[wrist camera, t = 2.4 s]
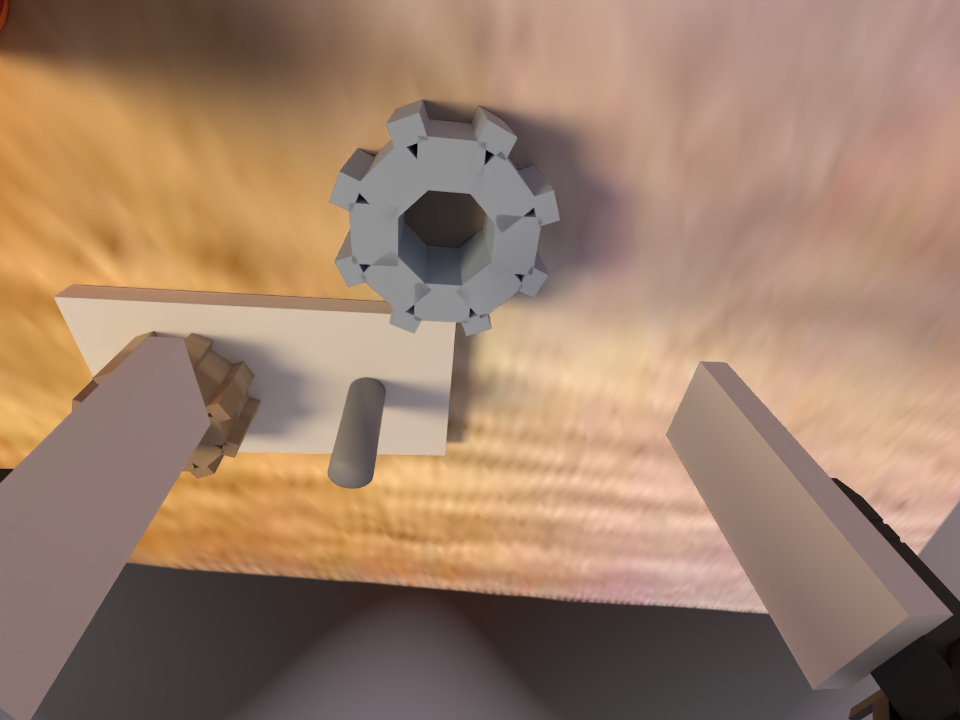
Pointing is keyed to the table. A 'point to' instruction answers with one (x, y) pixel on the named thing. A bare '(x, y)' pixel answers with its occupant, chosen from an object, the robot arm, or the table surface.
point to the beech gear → (220, 395)
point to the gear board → (296, 366)
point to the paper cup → (3, 12)
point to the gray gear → (433, 269)
